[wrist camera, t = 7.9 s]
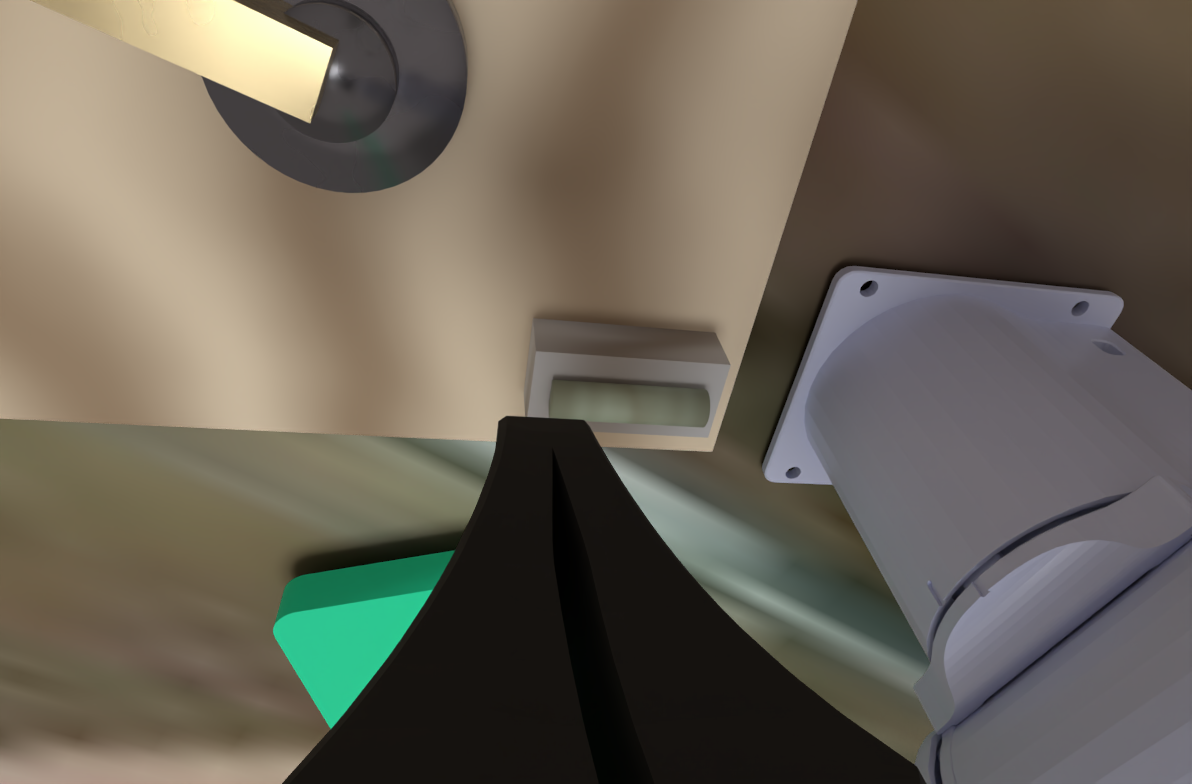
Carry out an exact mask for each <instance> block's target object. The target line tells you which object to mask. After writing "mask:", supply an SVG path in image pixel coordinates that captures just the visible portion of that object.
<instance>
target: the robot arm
mask: <svg viewBox="0 0 1192 784" xmlns="http://www.w3.org/2000/svg"><path fill="white" fill-rule="evenodd" d="M867 281H872V284H871V285H870V287H869V288H867V289H865V290H861V291H860V288H861V287H862V285H863V284H864V283H866V282H867ZM1077 303H1079V304H1078V305H1077V306H1076V307H1075V308H1073V307H1074V306H1075V305H1076V304H1077ZM1123 306H1124V301H1123V300H1122V298H1121V297H1119V296H1118V295H1116V294H1115V293H1113V292H1110V291H1101V290H1091V289H1081V288H1071V287H1061V286H1051V285H1041V284H1031V283H1021V282H1011V281H1001V280H991V279H981V278H971V277H961V276H951V275H941V274H931V273H921V272H911V271H901V270H891V269H881V268H871V267H861V266H847V267H845V268H843V269H841V270H840V271H839V272H838V273H836V274H835V276H834V278H833V279H832V282H831V284H830V287H829V290H828V292H827V295H826V298H825V300H824V303H823V306H822V308H821V311H820V314H819V316H818V319H817V322H816V324H815V327H814V329H813V332H812V335H811V337H810V340H809V343H808V345H807V348H806V351H805V353H804V356H803V359H802V361H801V364H800V367H799V369H798V372H797V375H796V377H795V380H794V383H793V385H792V388H791V390H790V393H789V396H788V398H787V401H786V404H785V406H784V409H783V412H782V414H781V417H780V420H779V422H778V425H777V428H776V430H775V433H774V436H773V438H772V441H771V443H770V446H769V449H768V451H767V454H766V457H765V459H764V462H763V465H762V471H763V473H764V475H765V477H766V479H767V480H769V481H770V482H778V483H803V484H829V485H833V486H834V488H835V490H836V492H837V493H838V495H839V497H840V499H841V501H842V502H843V504H844V506H845V508H846V510H847V512H848V513H849V515H850V517H851V519H852V521H853V522H854V524H855V526H856V528H857V530H858V532H859V533H860V535H861V537H862V539H863V541H864V542H865V544H866V546H867V548H868V550H869V552H870V553H871V555H872V557H873V559H874V561H875V562H876V564H877V566H878V568H879V570H880V572H881V573H882V575H883V577H884V579H885V581H886V582H887V584H888V586H889V588H890V590H891V592H892V593H893V595H894V597H895V599H896V601H897V602H898V604H899V606H900V608H901V610H902V612H903V613H904V615H905V617H906V619H907V621H908V622H909V624H910V626H911V628H912V630H913V632H914V633H915V635H916V637H917V639H918V641H919V642H920V644H921V646H922V648H923V650H924V652H925V653H926V655H927V657H928V659H929V661H930V662H931V663H930V665H929V668H928V669H927V671H926V672H925V674H924V675H923V676H922V677H921V678H920V679H919V680H918V681H917V682H916V683H915V684H914V686H913V689H914V691H915V693H916V695H917V697H918V699H919V700H920V702H921V704H922V706H923V708H924V710H925V712H926V714H927V716H928V718H929V720H930V722H931V724H932V726H933V728H934V731H933V732H932V733H930V734H929V735H928V736H927V737H926V738H925V740H924V741H923V743H922V745H921V746H920V748H919V750H918V753H917V757H916V761H915V765H914V764H913V763H911V762H910V761H908V760H907V759H905V758H904V757H903V756H901V755H900V754H898V753H897V752H895V751H894V750H893V749H891V748H890V747H888V746H887V745H885V744H884V743H883V742H881V741H880V740H878V739H877V738H876V737H874V736H873V735H871V734H870V733H868V732H867V731H866V730H864V729H863V728H861V727H860V726H858V725H857V724H856V723H854V722H853V721H851V720H850V719H848V718H847V717H846V716H844V715H843V714H842V713H840V712H839V711H838V710H836V709H835V708H834V707H833V706H831V705H830V704H829V703H828V702H826V701H825V700H824V699H823V698H821V697H820V696H819V695H818V694H816V693H815V692H814V691H812V690H811V689H810V688H809V687H807V686H806V685H805V684H804V683H802V682H801V681H800V680H799V679H797V678H796V677H795V676H794V675H793V674H792V673H790V672H789V671H788V670H787V669H786V668H785V667H783V666H782V665H781V664H780V663H779V662H778V661H777V660H776V659H775V658H773V657H772V656H771V655H770V654H769V653H768V652H767V651H766V650H765V649H764V648H762V647H761V646H760V645H759V644H758V643H757V642H756V641H755V640H754V639H753V638H751V637H750V636H749V635H748V634H747V633H746V632H745V631H744V630H743V629H742V628H740V627H739V626H738V625H737V624H736V622H735V621H734V620H733V619H732V618H731V617H730V616H729V615H728V614H727V613H726V612H725V611H724V610H723V609H722V608H721V607H720V606H719V605H718V604H717V603H716V602H715V601H714V600H713V599H712V598H711V596H710V595H709V594H708V593H707V592H706V591H705V590H704V589H703V588H702V587H701V586H700V584H699V583H698V582H697V581H696V580H695V579H694V578H693V576H692V575H691V574H690V573H689V572H688V571H687V569H686V568H685V567H684V566H683V565H682V563H681V562H680V561H679V560H678V558H677V557H676V556H675V555H674V553H673V552H672V551H671V550H670V548H669V547H668V546H667V544H666V543H665V542H664V541H663V539H662V538H661V537H660V535H659V534H658V533H657V531H656V530H655V529H654V527H653V526H652V525H651V523H650V522H649V521H648V519H647V518H646V516H645V515H644V513H643V512H642V510H641V509H640V507H639V506H638V505H637V503H636V502H635V500H634V499H633V497H632V496H631V494H630V493H629V492H628V490H627V488H626V487H625V485H624V484H623V482H622V481H621V479H620V478H619V476H618V474H617V473H616V471H615V469H614V468H613V466H612V465H611V463H610V461H609V460H608V458H607V456H606V455H605V453H604V451H603V449H602V448H601V446H600V444H599V442H598V441H597V439H596V437H595V435H594V433H593V431H592V430H591V428H590V426H589V425H588V424H587V422H586V421H585V420H579V419H560V418H541V417H523V416H505V417H504V418H502V419H501V420H499V421H498V429H497V438H496V448H495V453H494V457H493V460H492V464H491V467H490V470H489V473H488V476H487V479H486V481H485V484H484V487H483V489H482V492H481V495H480V497H479V500H478V502H477V505H476V507H475V510H474V512H473V514H472V516H471V518H470V520H469V523H468V525H467V527H466V529H465V531H464V533H463V535H462V537H461V539H460V541H459V543H458V545H457V547H456V549H455V551H454V553H453V555H452V557H451V559H450V561H449V563H448V564H447V566H446V568H445V570H444V572H443V573H442V575H441V577H440V579H439V580H438V582H437V584H436V585H435V587H434V589H433V590H432V592H431V594H430V595H429V597H428V599H427V600H426V602H425V604H424V605H423V607H422V608H421V610H420V611H419V613H418V614H417V616H416V617H415V619H414V620H413V622H412V623H411V625H410V626H409V628H408V629H407V631H406V632H405V634H404V635H403V637H402V638H401V640H400V641H399V643H398V644H397V645H396V647H395V648H394V650H393V651H392V652H391V654H390V655H389V657H388V658H387V659H386V661H385V662H384V663H383V665H382V666H381V667H380V668H379V670H378V671H377V672H376V673H375V675H374V676H373V677H372V679H371V680H370V681H369V682H368V684H367V685H366V686H365V688H364V689H363V690H362V691H361V693H360V694H359V695H358V697H357V698H356V699H355V700H354V702H353V703H352V704H351V705H350V707H349V708H348V709H347V711H346V712H345V713H344V714H343V715H342V717H341V718H340V719H339V720H338V721H337V723H336V724H335V725H334V726H333V727H332V728H331V730H330V731H329V732H328V733H327V734H326V735H325V736H324V737H323V738H322V740H321V741H320V742H319V743H318V744H317V745H316V746H315V747H314V748H313V750H312V751H311V752H310V753H309V754H308V755H307V756H306V757H305V759H304V760H303V761H302V762H301V763H300V764H299V765H298V766H297V767H296V769H295V770H294V771H293V772H292V773H291V774H290V775H289V776H288V777H287V779H286V780H285V781H284V782H283V783H282V784H1192V390H1191V389H1189V388H1188V387H1187V386H1185V385H1184V384H1183V383H1181V382H1180V381H1179V380H1177V379H1176V378H1175V377H1173V376H1172V375H1171V374H1169V373H1168V372H1167V371H1165V370H1164V369H1163V368H1161V367H1160V366H1159V365H1157V364H1156V363H1155V362H1153V361H1152V360H1151V359H1149V358H1148V357H1147V356H1146V355H1144V354H1143V353H1142V352H1140V351H1139V350H1138V349H1136V348H1135V347H1134V346H1132V345H1131V344H1130V343H1128V342H1127V341H1126V340H1124V339H1123V338H1122V337H1120V336H1119V335H1118V334H1116V333H1115V332H1114V331H1112V330H1111V327H1112V326H1113V324H1114V322H1115V321H1116V319H1117V318H1118V316H1119V315H1120V313H1121V311H1122V309H1123ZM1072 308H1073V309H1072ZM792 467H795V468H794V469H793V470H790V471H787V470H788V469H790V468H792Z"/></svg>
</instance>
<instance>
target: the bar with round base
mask: <svg viewBox="0 0 1192 784" xmlns="http://www.w3.org/2000/svg"><path fill="white" fill-rule="evenodd" d="M30 1H33V2H35V3H37V4H40V5H42V6H44V7H46V8H49V9H51V10H53V11H55V12H58V13H60V14H62V15H65V16H67V17H69V18H71V19H74V20H76V21H78V22H81V23H83V24H85V25H87V26H90V27H92V28H94V29H96V30H99V31H101V32H103V33H106V34H108V35H110V36H112V37H115V38H117V39H119V40H121V41H124V42H126V43H128V44H131V45H133V46H135V47H137V48H140V49H142V50H144V51H146V52H149V53H151V54H153V55H156V56H158V57H160V58H162V59H165V60H167V61H169V62H171V63H174V64H176V65H178V66H181V67H183V68H185V69H187V70H190V71H192V72H194V73H197V74H199V75H201V77H202V79H203V82H204V84H205V87H206V89H207V92H208V94H209V96H210V98H211V100H212V101H213V103H214V105H215V107H216V109H217V111H218V112H219V114H220V115H221V117H222V118H223V120H224V121H225V123H226V124H227V125H228V127H229V128H230V129H231V130H232V132H233V133H234V134H235V135H236V136H237V137H238V139H239V140H240V141H241V142H242V143H243V144H244V145H245V146H246V147H247V148H248V149H249V150H251V151H252V152H253V153H254V154H255V155H256V156H257V157H259V158H260V159H261V160H263V161H264V162H265V163H267V164H268V165H269V166H271V167H273V168H274V169H276V170H277V171H279V172H281V173H282V174H284V175H286V176H288V177H290V178H292V179H294V180H297V181H299V182H301V183H304V184H307V185H310V186H313V187H316V188H320V189H324V190H329V191H334V192H343V193H367V192H373V191H380V190H384V189H387V188H391V187H394V186H397V185H399V184H401V183H404V182H406V181H408V180H410V179H411V178H413V177H415V176H416V175H418V174H420V173H421V172H422V171H424V170H425V169H426V168H427V167H428V166H430V165H431V164H432V163H433V162H434V161H435V160H436V159H437V158H438V157H439V155H440V154H441V153H442V152H443V151H444V149H445V148H446V146H447V145H448V143H449V142H450V140H451V139H452V137H453V135H454V133H455V131H456V129H457V127H458V124H459V121H460V118H461V115H462V112H463V108H464V103H465V97H466V90H467V78H468V54H467V45H466V40H465V35H464V30H463V27H462V24H461V21H460V17H459V14H458V12H457V10H456V7H455V5H454V3H453V1H452V0H30Z"/></svg>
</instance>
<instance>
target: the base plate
mask: <svg viewBox="0 0 1192 784" xmlns="http://www.w3.org/2000/svg"><path fill="white" fill-rule="evenodd" d="M452 1H453V3H454V5H455V7H456V10H457V12H458V14H459V17H460V21H461V24H462V27H463V30H464V35H465V40H466V45H467V54H468V78H467V90H466V97H465V103H464V108H463V112H462V115H461V118H460V121H459V124H458V127H457V129H456V131H455V133H454V135H453V137H452V139H451V140H450V142H449V143H448V145H447V146H446V148H445V149H444V151H443V152H442V153H441V154H440V155H439V157H438V158H437V159H436V160H435V161H434V162H433V163H432V164H431V165H430V166H428V167H427V168H426V169H425V170H424V171H422V172H421V173H420V174H418V175H416V176H415V177H413V178H411V179H410V180H408V181H406V182H404V183H401V184H399V185H397V186H394V187H391V188H387V189H384V190H380V191H373V192H367V193H343V192H334V191H329V190H324V189H320V188H316V187H313V186H310V185H307V184H304V183H301V182H299V181H297V180H294V179H292V178H290V177H288V176H286V175H284V174H282V173H281V172H279V171H277V170H276V169H274V168H273V167H271V166H269V165H268V164H267V163H265V162H264V161H263V160H261V159H260V158H259V157H257V156H256V155H255V154H254V153H253V152H252V151H251V150H249V149H248V148H247V147H246V146H245V145H244V144H243V143H242V142H241V141H240V140H239V139H238V137H237V136H236V135H235V134H234V133H233V132H232V130H231V129H230V128H229V127H228V125H227V124H226V123H225V121H224V120H223V118H222V117H221V115H220V114H219V112H218V111H217V109H216V107H215V105H214V103H213V101H212V100H211V98H210V96H209V94H208V92H207V89H206V87H205V84H204V82H203V79H202V77H201V75H199V74H197V73H194V72H192V71H190V70H187V69H185V68H183V67H181V66H178V65H176V64H174V63H171V62H169V61H167V60H165V59H162V58H160V57H158V56H156V55H153V54H151V53H149V52H146V51H144V50H142V49H140V48H137V47H135V46H133V45H131V44H128V43H126V42H124V41H121V40H119V39H117V38H115V37H112V36H110V35H108V34H106V33H103V32H101V31H99V30H96V29H94V28H92V27H90V26H87V25H85V24H83V23H81V22H78V21H76V20H74V19H71V18H69V17H67V16H65V15H62V14H60V13H58V12H55V11H53V10H51V9H49V8H46V7H44V6H42V5H40V4H37V3H35V2H33V1H30V0H0V418H3V419H24V420H45V421H67V422H88V423H110V424H131V425H152V426H174V427H195V428H216V429H238V430H259V431H281V432H302V433H323V434H345V435H366V436H387V437H409V438H430V439H452V440H473V441H494V442H496V438H497V429H498V421H499V420H501V419H502V418H504V417H505V416H523V417H541V418H560V419H579V420H585V421H586V422H587V424H588V425H589V426H590V428H591V430H592V431H593V433H594V435H595V437H596V439H597V441H598V442H599V444H600V446H601V447H623V448H644V449H665V450H687V451H708V452H712V451H713V448H714V445H715V442H716V439H717V435H718V432H719V429H720V426H721V423H722V420H723V417H724V414H725V411H726V407H727V404H728V401H729V398H730V395H731V392H732V389H733V386H734V383H735V380H736V376H737V373H738V370H739V367H740V364H741V361H742V358H743V355H744V352H745V348H746V345H747V342H748V339H749V336H750V333H751V330H752V327H753V324H754V320H755V317H756V314H757V311H758V308H759V305H760V302H761V299H762V296H763V293H764V289H765V286H766V283H767V280H768V277H769V274H770V271H771V268H772V265H773V261H774V258H775V255H776V252H777V249H778V246H779V243H780V240H781V237H782V233H783V230H784V227H785V224H786V221H787V218H788V215H789V212H790V209H791V206H792V202H793V199H794V196H795V193H796V190H797V187H798V184H799V181H800V178H801V174H802V171H803V168H804V165H805V162H806V159H807V156H808V153H809V150H810V146H811V143H812V140H813V137H814V134H815V131H816V128H817V125H818V122H819V119H820V115H821V112H822V109H823V106H824V103H825V100H826V97H827V94H828V91H829V87H830V84H831V81H832V78H833V75H834V72H835V69H836V66H837V63H838V59H839V56H840V53H841V50H842V47H843V44H844V41H845V38H846V35H847V32H848V28H849V25H850V22H851V19H852V16H853V13H854V10H855V7H856V4H857V0H452Z"/></svg>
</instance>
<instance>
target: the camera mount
mask: <svg viewBox="0 0 1192 784" xmlns="http://www.w3.org/2000/svg"><path fill="white" fill-rule="evenodd" d="M454 551H455V550H453V551H447V552H441V553H435V554H429V555H422V556H416V557H410V558H404V559H398V560H392V561H386V562H379V563H373V564H367V565H361V566H355V567H349V568H343V569H336V570H330V571H324V572H318V573H312V574H306V575H302V576H299V577H296V578H294V579H293V580H291V581H290V582H289V583H288V584H287V585H286V587H285V589H284V592H283V596H282V600H281V603H280V607H279V610H278V614H277V618H276V621H275V625H274V629H273V633H274V636H275V638H276V640H277V642H278V643H279V645H280V647H281V648H282V650H283V651H284V653H285V655H286V656H287V658H288V660H289V661H290V663H291V665H292V666H293V668H294V669H295V671H296V673H297V674H298V676H299V678H300V679H301V681H302V683H303V684H304V686H305V687H306V689H307V691H308V692H309V694H310V696H311V697H312V699H313V701H314V702H315V704H316V706H317V707H318V709H319V710H320V712H321V714H322V715H323V717H324V719H325V720H326V722H327V724H328V725H329V727H330V728H332V727H333V726H334V725H335V724H336V723H337V721H338V720H339V719H340V718H341V717H342V715H343V714H344V713H345V712H346V711H347V709H348V708H349V707H350V705H351V704H352V703H353V702H354V700H355V699H356V698H357V697H358V695H359V694H360V693H361V691H362V690H363V689H364V688H365V686H366V685H367V684H368V682H369V681H370V680H371V679H372V677H373V676H374V675H375V673H376V672H377V671H378V670H379V668H380V667H381V666H382V665H383V663H384V662H385V661H386V659H387V658H388V657H389V655H390V654H391V652H392V651H393V650H394V648H395V647H396V645H397V644H398V643H399V641H400V640H401V638H402V637H403V635H404V634H405V632H406V631H407V629H408V628H409V626H410V625H411V623H412V622H413V620H414V619H415V617H416V616H417V614H418V613H419V611H420V610H421V608H422V607H423V605H424V604H425V602H426V600H427V599H428V597H429V595H430V594H431V592H432V590H433V589H434V587H435V585H436V584H437V582H438V580H439V579H440V577H441V575H442V573H443V572H444V570H445V568H446V566H447V564H448V563H449V561H450V559H451V557H452V555H453V553H454Z"/></svg>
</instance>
